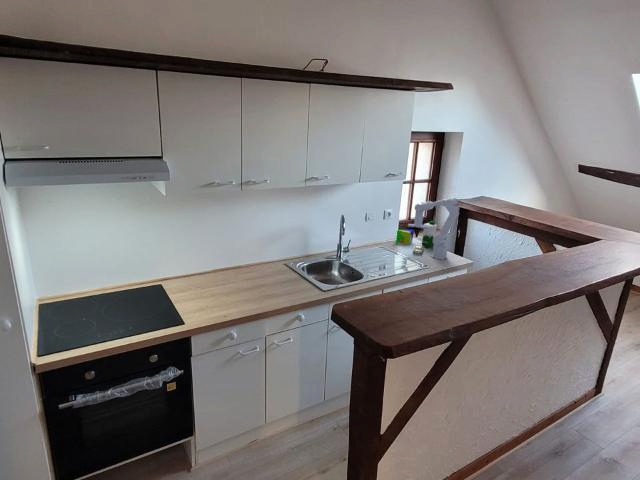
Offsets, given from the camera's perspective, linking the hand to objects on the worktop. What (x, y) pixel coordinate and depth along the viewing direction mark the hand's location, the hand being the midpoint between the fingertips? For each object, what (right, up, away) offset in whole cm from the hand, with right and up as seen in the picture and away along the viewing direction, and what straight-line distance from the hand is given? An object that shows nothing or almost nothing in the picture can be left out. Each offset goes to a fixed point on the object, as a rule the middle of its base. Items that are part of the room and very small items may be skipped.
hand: (416, 237), depth 309 cm
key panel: (+1, -11, +1) cm, 11 cm away
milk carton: (+12, -8, +14) cm, 19 cm away
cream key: (+2, -9, 0) cm, 9 cm away
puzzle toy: (-5, -4, +22) cm, 23 cm away
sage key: (0, -11, -4) cm, 12 cm away
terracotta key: (+3, -7, +5) cm, 9 cm away
